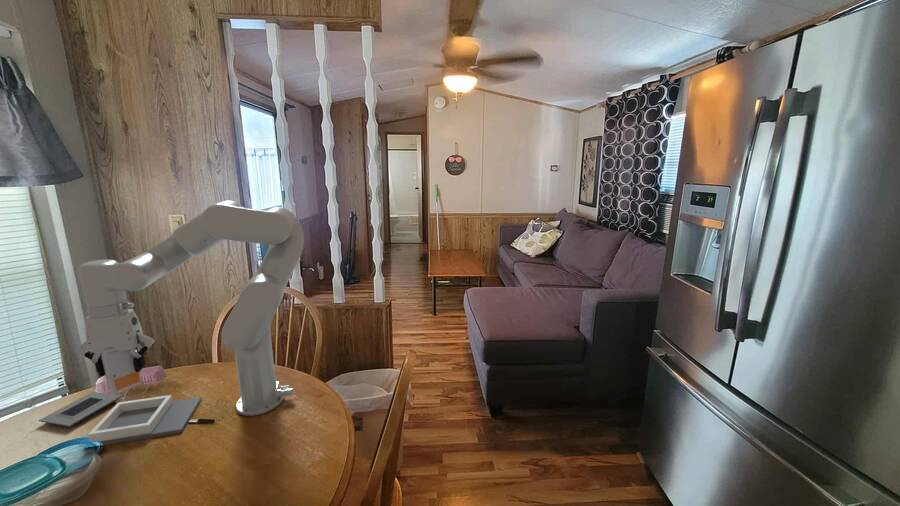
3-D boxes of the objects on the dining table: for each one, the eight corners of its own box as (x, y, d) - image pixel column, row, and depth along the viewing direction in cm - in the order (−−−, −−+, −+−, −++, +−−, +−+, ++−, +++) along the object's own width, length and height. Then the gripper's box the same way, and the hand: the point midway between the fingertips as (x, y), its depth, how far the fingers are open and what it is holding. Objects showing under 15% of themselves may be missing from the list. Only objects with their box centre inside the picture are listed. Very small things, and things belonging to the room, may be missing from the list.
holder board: (201, 400, 109) (199, 390, 108) (182, 432, 96) (179, 420, 95) (117, 412, 103) (114, 402, 102) (84, 448, 90) (81, 436, 89)
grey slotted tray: (70, 432, 96) (68, 424, 95) (40, 426, 98) (38, 419, 97) (123, 401, 109) (121, 394, 108) (95, 397, 110) (93, 390, 110)
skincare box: (114, 394, 92) (103, 352, 89) (108, 388, 94) (98, 347, 91) (143, 382, 97) (134, 342, 94) (137, 377, 99) (128, 338, 96)
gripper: (156, 300, 96) (167, 359, 100) (76, 306, 92) (91, 368, 96) (141, 311, 89) (154, 374, 93) (53, 318, 85) (71, 384, 89)
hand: (122, 371), depth 95 cm, fingers closed on skincare box, 7 cm apart
